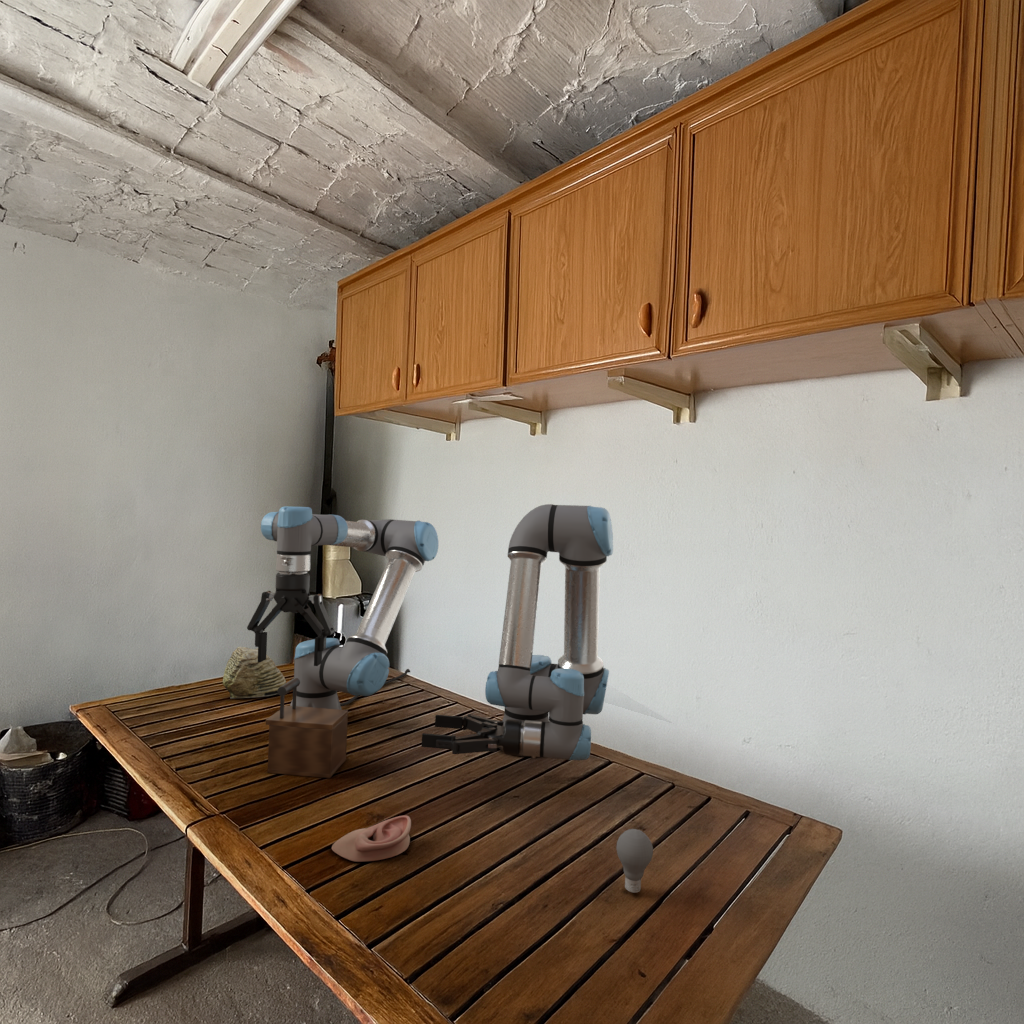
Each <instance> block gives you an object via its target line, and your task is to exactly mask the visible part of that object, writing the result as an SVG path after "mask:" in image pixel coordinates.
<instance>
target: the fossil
mask: <svg viewBox="0 0 1024 1024" xmlns="http://www.w3.org/2000/svg"><path fill="white" fill-rule="evenodd" d="M222 676H223V677H222V685H223V687H224V688H225V690H226V691H228V693H229V698H230V699H250V698H264V697H271V696H275V695H279V694H278V692H277V691H278V688H279V687H281V686H282V685H284V684H286V683H287V680H286V678H285V676H284V674H283V673H282V672H281V669H279V668H278V667H277V665H276V663H275V662H274V660H273V659H272V658H271V657H270V656H269V655H268V654H267V653H266V660H264V661H262V662H258V647H256V648H251V647H247V646H246V647H245V646H238V647H237V648H236V649H235V650H233V651H232V653H231V656H230V657H229V659H228V660H227V663H226V666H225V668H224V671H223V675H222Z"/></svg>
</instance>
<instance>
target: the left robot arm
mask: <svg viewBox="0 0 1024 1024" xmlns="http://www.w3.org/2000/svg"><path fill="white" fill-rule="evenodd" d="M260 532H261V534H262V536H263V537H264V538H265V539H266V540H269V541H273V542H276V563H275V564H276V565H275V571H277V573H276V574H275V592H273V591H271V590H266V591H263V592H262V593H261V596H260V602H259V603H258V605H257V607H256V609H255V611H254V613H253V615H252V617H251V619H250V621H249V623H248V625H247V626H246V629H247V631H251V632H253V633H254V647H255V648H258V662H262V661H264V660H266V654H267V651H268V650H267V649H268V631H266V629H267V628H268V627H269V625H270V624H271V623H272V622H273V621H274V620H275V619H276V618H277V617H278V616H279V614H280V613H281V612H283V613H293V614H297V613H299V614H300V615H301V616H302V617H303V618H304V619H305V621H306V622H307V623H308V625H309V626H310V627H311V629H312V631H314V633H315V634H316V635H317V636H316V637H314V638H313V639H308V640H304V641H302V642H299V643H298V644H297V645H296V647H295V652H294V653H295V654H294V657H293V662H294V663H293V665H294V666H293V678H298V679H299V680H300V684H299V686H297V694H296V706H299V707H312V708H325V709H338V710H343V709H342V707H346V706H348V705H350V704H351V703H352V702H354V701H356V699H358V698H360V697H370V696H372V695H374V694H376V693H378V692H379V691H380V690H381V689H382V688H383V687H384V686H385V685H388V684H391V683H393V682H395V681H397V680H399V679H401V678H403V677H405V676H407V675H408V673H411V670H410V669H409V668H406V669H405V671H404V672H403V673H402V674H400V675H398V676H396V677H393V678H391V679H389V680H387V679H388V677H389V674H390V669H389V668H390V660H389V658H388V656H387V655H388V649H387V647H386V644H387V641H388V638H389V636H390V633H391V631H392V629H393V627H394V624H395V622H396V619H397V617H398V614H399V612H400V609H401V607H402V605H403V602H404V600H405V597H406V595H407V592H408V591H409V588H410V586H411V583H412V580H413V578H414V576H415V574H416V573H417V572H421V571H422V569H423V567H424V565H425V563H426V562H431V561H433V560H435V558H436V556H437V555H438V551H439V535H438V532H437V530H436V527H435V526H434V525H433V524H432V523H430V522H429V521H422V520H405V519H392V518H391V519H390V518H389V519H387V518H386V519H359V520H357V521H351V520H346V519H345V518H344V517H343V516H341V515H338V514H333V513H332V514H330V513H329V514H316V513H313V509H312V507H309V506H294V505H293V506H290V505H289V506H287V505H285V506H281V507H280V508H279V510H278V511H270V512H268V513H266V514H265V515H264V516H263V517H262V519H261V522H260ZM313 546H331V547H333V546H334V547H346V548H353V549H354V550H355V551H358V552H364V553H370V554H374V555H377V556H378V555H379V556H382V557H385V559H386V560H387V562H386V564H385V567H384V570H383V571H382V574H381V575H380V578H379V580H378V583H377V585H376V587H375V589H374V592H373V594H372V596H371V599H370V601H369V603H368V606H367V608H366V610H365V612H364V614H363V617H362V618H361V620H360V624H359V626H358V628H357V630H356V633H354V634H353V635H350V636H348V637H347V639H346V641H345V644H344V646H341V645H340V644H341V643H340V640H339V638H335V637H329V636H331V635H333V634H335V632H336V630H335V627H334V625H333V623H332V621H331V618H330V616H329V614H328V611H327V609H326V607H325V605H324V599H323V594H322V593H318V594H311V593H310V585H311V584H310V583H311V581H310V580H311V574H310V573H309V571H311V554H312V547H313ZM273 599H274V601H275V603H276V605H275V606H274V607H272V609H271V611H270V612H269V613H268V614H267V615H266V616H265V617H264V619H262V618H263V616H264V615H265V613H266V611H267V609H268V607H269V605H270V603H271V601H273ZM309 602H311V604H313V606H314V609H315V612H316V615H317V617H316V615H315V613H313V611H312V608H311V607H310V605H309ZM338 692H341V693H345V694H349V695H352V696H353V697H351V698H350V699H349V700H348V701H345V702H340V699H339V695H338ZM292 701H293V698H292V699H291V702H290V704H289V706H292Z"/></svg>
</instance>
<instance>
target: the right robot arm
mask: <svg viewBox="0 0 1024 1024" xmlns="http://www.w3.org/2000/svg"><path fill="white" fill-rule="evenodd" d="M612 524H613V523H612V519H611V514H610V512H609V510H608V509H607V508H605V507H601V506H594V505H593V506H592V505H578V504H577V505H576V504H575V505H574V504H573V505H572V504H569V505H568V504H554V503H553V504H552V503H548V504H542V505H538V506H536V507H534V508H532V509H531V510H530V511H529V512H527V513H526V514H525V515H524V516H523V517H522V518H521V519H520V521H519V522H518V524H517V525H516V527H515V528H514V529H513V532H512V534H511V537H510V540H509V542H508V547H507V558H508V559H509V561H510V567H509V575H508V582H507V591H506V598H505V608H504V616H503V623H502V624H503V625H502V633H501V641H500V648H499V649H500V650H499V658H498V668H497V670H493V671H490V672H489V673H488V675H487V678H486V682H485V690H484V693H485V700H486V702H487V703H488V704H490V705H493V706H498V707H503V708H504V711H503V712H504V713H503V716H502V717H503V718H502V720H496V719H492V718H488V717H484V716H480V715H476V714H473V713H467V715H464V716H458V715H445V714H435V715H434V719H435V720H434V728H443V729H454V730H456V729H457V730H462V731H467V730H468V731H471V732H473V733H472V734H466V735H462V736H457V735H455V734H454V733H452V734H450V735H449V734H439V733H438V734H437V733H425V732H423V733H422V734H421V748H431V749H441V750H450V751H451V754H452V755H462V754H473V753H485V752H487V753H488V752H490V753H497V752H498V750H500V751H502V753H503V754H504V755H511V756H518V757H526V758H527V757H530V758H532V759H536V758H546V759H547V758H549V759H559V760H567V761H586V760H588V759H589V758H590V756H591V750H592V749H591V748H592V728H591V726H590V725H586V724H585V723H584V721H583V719H584V718H583V717H584V715H599V714H601V713H602V711H603V707H604V703H605V697H606V692H607V687H608V682H609V681H608V680H609V676H610V670H609V669H608V668H606V667H604V661H603V659H602V658H601V657H600V656H599V625H600V624H599V623H600V590H601V589H600V586H601V585H600V583H601V582H600V581H601V568H602V567H603V566H604V565H605V564H606V563H607V562H608V561H607V559H608V558H607V557H610V556H612V555H613V553H614V533H613V525H612ZM549 552H550V553H557V554H559V555H558V561H559V562H560V563H561V565H562V566H564V617H563V618H564V626H563V628H564V629H563V633H564V634H563V654H562V655H561V656H560V657H559V658H558V659H557V663H553V661H552V659H551V657H550V656H549V655H544V654H533V651H534V643H535V634H536V633H535V632H536V623H537V614H538V607H539V606H538V605H539V596H540V587H541V576H542V567H543V564H544V563H546V562H547V559H548V553H549Z"/></svg>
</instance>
